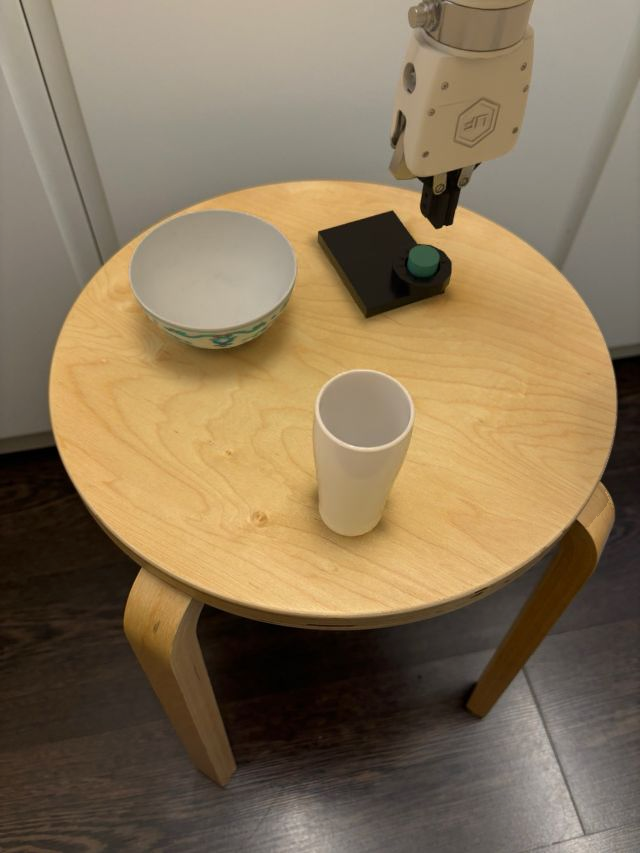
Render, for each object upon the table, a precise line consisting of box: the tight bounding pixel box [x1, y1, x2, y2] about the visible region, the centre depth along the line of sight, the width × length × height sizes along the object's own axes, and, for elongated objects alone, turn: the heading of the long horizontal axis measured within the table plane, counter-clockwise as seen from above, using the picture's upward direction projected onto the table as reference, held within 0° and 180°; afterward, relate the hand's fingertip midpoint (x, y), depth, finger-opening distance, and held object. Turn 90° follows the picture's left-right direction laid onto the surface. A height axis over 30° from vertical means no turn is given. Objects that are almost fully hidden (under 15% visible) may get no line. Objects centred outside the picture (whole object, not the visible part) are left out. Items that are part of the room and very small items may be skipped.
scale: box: [317, 210, 453, 319], centre depth 73 cm, size 10×13×3 cm
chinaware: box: [127, 208, 298, 350], centre depth 66 cm, size 15×15×8 cm
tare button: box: [407, 245, 439, 277], centre depth 70 cm, size 3×3×2 cm
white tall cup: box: [312, 368, 416, 537], centre depth 52 cm, size 7×7×15 cm
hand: (436, 217), depth 65 cm, fingers closed
